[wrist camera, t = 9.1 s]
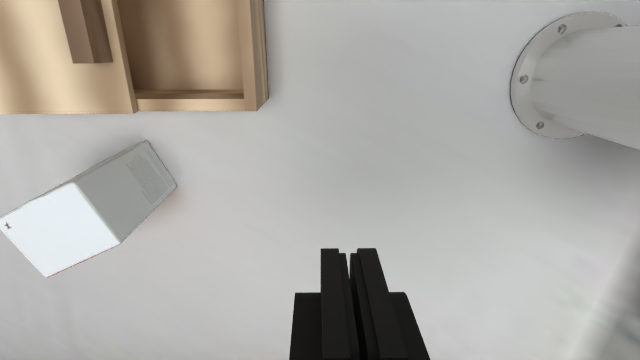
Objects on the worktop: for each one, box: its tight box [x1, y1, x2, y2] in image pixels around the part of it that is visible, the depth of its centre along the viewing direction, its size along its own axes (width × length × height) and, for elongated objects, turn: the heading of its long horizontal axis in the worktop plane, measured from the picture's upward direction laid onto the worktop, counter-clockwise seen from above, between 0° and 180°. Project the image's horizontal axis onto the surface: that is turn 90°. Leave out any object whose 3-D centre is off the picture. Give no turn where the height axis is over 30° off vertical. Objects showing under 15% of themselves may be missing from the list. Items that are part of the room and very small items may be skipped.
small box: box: [0, 141, 177, 278], centre depth 34 cm, size 8×6×13 cm
